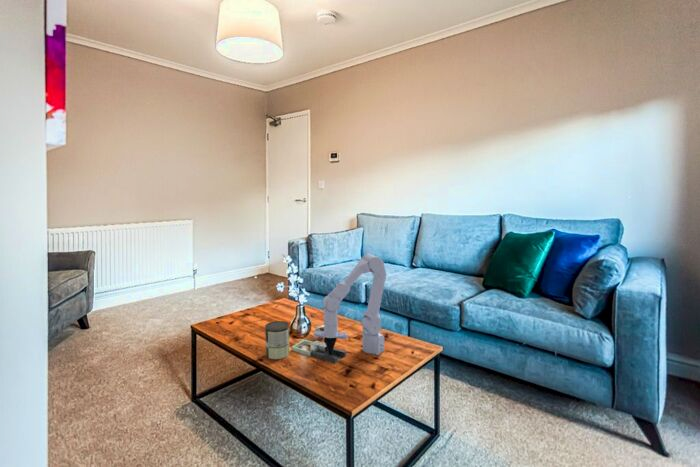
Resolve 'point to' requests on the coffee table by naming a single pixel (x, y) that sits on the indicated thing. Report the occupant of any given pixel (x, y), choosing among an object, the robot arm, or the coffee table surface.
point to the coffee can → (277, 339)
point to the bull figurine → (319, 329)
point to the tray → (295, 348)
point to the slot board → (332, 358)
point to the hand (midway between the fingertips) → (330, 353)
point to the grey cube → (323, 348)
